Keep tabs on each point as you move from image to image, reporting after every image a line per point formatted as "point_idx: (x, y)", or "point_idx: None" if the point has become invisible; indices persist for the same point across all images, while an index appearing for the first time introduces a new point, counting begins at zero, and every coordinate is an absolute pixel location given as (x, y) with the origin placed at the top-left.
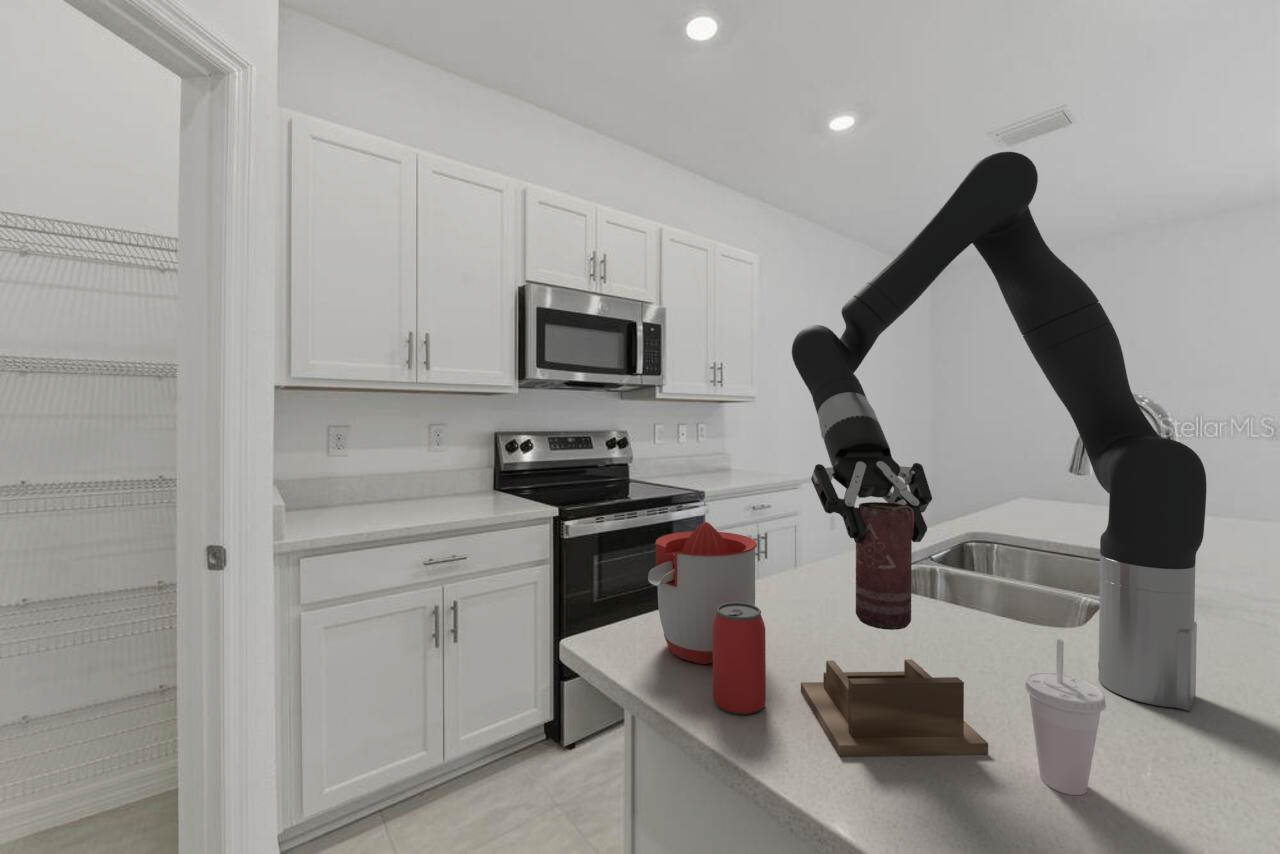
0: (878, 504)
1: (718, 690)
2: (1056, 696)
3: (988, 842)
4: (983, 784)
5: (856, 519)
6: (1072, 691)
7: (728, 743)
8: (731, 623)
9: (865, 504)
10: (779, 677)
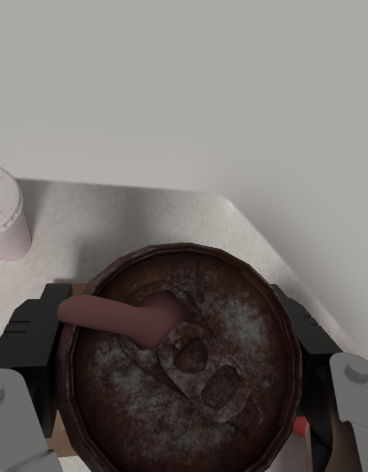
0: None
1: None
2: (9, 177)
3: (132, 187)
4: (92, 245)
5: (298, 313)
6: None
7: (308, 310)
8: None
9: (252, 467)
10: None
